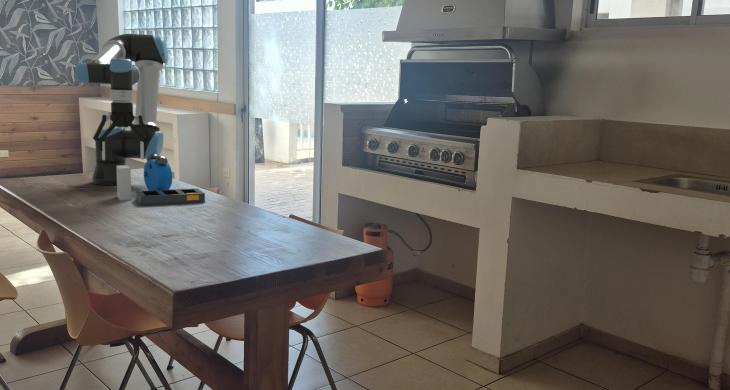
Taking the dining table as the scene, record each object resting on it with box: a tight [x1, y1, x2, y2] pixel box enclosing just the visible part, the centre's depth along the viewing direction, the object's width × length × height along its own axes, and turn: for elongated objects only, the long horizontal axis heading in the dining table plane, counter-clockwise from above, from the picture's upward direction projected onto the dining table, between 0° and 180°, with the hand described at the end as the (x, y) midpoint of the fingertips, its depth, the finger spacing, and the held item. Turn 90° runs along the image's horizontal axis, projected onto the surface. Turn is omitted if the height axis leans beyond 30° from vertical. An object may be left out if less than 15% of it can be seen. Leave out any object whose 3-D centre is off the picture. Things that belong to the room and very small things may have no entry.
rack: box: [135, 188, 206, 207], centre depth 247 cm, size 11×23×4 cm, turn 118°
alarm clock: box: [143, 154, 173, 191], centre depth 263 cm, size 13×6×15 cm, turn 44°
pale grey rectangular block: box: [116, 164, 132, 201], centre depth 249 cm, size 7×4×12 cm, turn 28°
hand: (123, 159), depth 247 cm, fingers open, 13 cm apart
